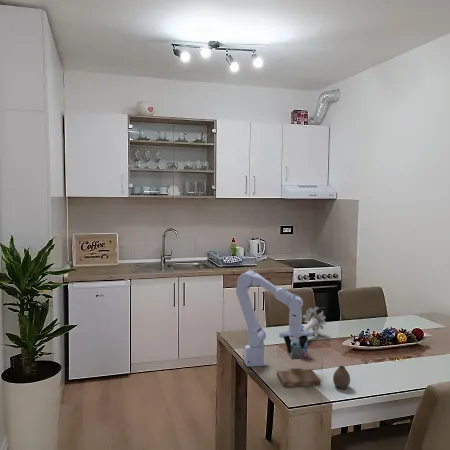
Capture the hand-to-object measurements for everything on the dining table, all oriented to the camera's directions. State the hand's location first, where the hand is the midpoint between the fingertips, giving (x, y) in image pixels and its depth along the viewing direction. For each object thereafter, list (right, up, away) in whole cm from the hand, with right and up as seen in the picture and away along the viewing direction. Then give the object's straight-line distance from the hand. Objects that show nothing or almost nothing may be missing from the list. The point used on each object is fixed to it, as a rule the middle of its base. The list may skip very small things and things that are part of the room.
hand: (294, 352), depth 205 cm
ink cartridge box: (+5, -7, +20) cm, 22 cm away
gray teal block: (0, -2, 0) cm, 2 cm away
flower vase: (+15, -5, +45) cm, 48 cm away
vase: (+17, -10, -18) cm, 27 cm away
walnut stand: (0, -9, -12) cm, 15 cm away
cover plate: (0, +2, 0) cm, 2 cm away
